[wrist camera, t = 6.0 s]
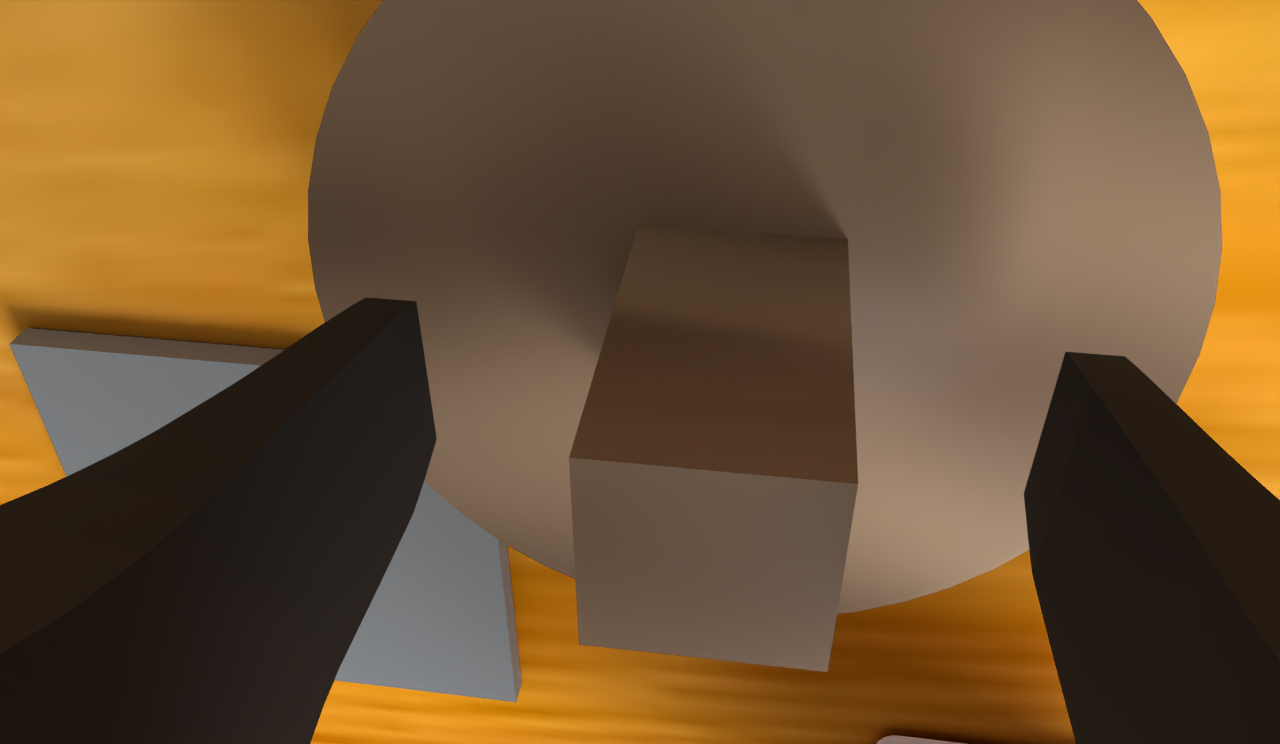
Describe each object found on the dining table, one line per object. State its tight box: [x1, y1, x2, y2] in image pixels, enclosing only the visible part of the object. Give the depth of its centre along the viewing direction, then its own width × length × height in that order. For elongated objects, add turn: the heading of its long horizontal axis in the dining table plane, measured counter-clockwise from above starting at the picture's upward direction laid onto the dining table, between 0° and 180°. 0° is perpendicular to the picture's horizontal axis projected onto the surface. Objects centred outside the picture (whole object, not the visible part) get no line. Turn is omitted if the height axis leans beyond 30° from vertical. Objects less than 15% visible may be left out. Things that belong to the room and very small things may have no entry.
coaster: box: [10, 328, 522, 702], centre depth 24 cm, size 10×10×1 cm
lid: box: [308, 0, 1222, 672], centre depth 12 cm, size 12×12×5 cm
